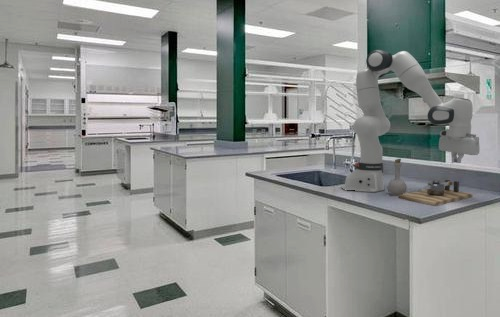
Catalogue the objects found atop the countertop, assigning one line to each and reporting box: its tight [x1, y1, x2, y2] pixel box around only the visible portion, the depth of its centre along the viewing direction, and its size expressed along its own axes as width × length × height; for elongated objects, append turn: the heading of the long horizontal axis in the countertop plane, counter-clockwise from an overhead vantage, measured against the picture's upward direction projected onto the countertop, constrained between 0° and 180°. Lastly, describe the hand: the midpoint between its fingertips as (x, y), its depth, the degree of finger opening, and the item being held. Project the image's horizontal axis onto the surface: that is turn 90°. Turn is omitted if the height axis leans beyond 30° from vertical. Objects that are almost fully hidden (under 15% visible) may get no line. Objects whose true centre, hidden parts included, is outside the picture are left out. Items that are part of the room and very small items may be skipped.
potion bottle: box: [387, 158, 408, 197], centre depth 175 cm, size 9×9×18 cm
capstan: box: [423, 179, 453, 195], centre depth 169 cm, size 20×7×6 cm, turn 121°
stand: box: [397, 179, 473, 207], centre depth 168 cm, size 31×18×6 cm, turn 122°
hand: (456, 162), depth 166 cm, fingers closed
